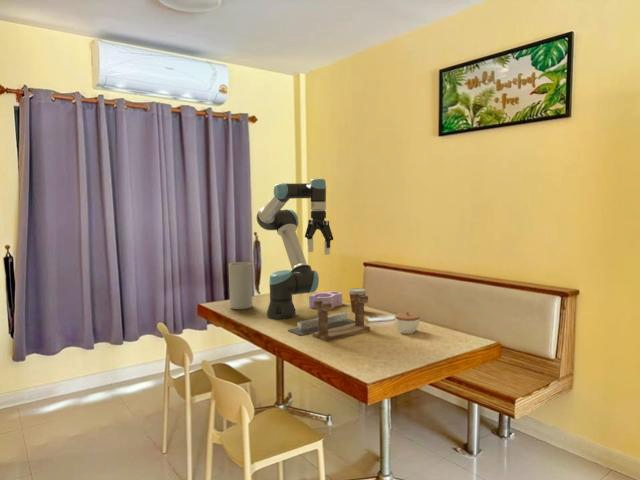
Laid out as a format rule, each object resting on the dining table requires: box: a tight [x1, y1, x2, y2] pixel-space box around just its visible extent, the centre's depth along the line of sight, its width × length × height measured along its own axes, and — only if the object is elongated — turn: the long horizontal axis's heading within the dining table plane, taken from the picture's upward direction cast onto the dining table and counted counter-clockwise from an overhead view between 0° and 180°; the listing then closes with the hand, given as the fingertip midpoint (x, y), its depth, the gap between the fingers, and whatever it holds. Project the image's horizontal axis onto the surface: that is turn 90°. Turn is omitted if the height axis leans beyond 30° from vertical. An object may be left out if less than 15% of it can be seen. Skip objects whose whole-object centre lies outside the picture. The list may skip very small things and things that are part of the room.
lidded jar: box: [395, 311, 420, 335], centre depth 209 cm, size 11×11×9 cm
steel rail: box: [296, 311, 348, 332], centre depth 219 cm, size 3×28×4 cm, turn 128°
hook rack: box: [312, 293, 371, 342], centre depth 208 cm, size 10×26×16 cm, turn 128°
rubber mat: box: [287, 318, 355, 336], centre depth 219 cm, size 10×34×1 cm, turn 128°
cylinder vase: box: [228, 261, 253, 310], centre depth 259 cm, size 12×12×25 cm
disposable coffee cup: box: [348, 287, 367, 314], centre depth 246 cm, size 10×10×12 cm
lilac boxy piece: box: [308, 290, 343, 311], centre depth 260 cm, size 20×12×7 cm, turn 130°
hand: (318, 253), depth 227 cm, fingers open, 13 cm apart
